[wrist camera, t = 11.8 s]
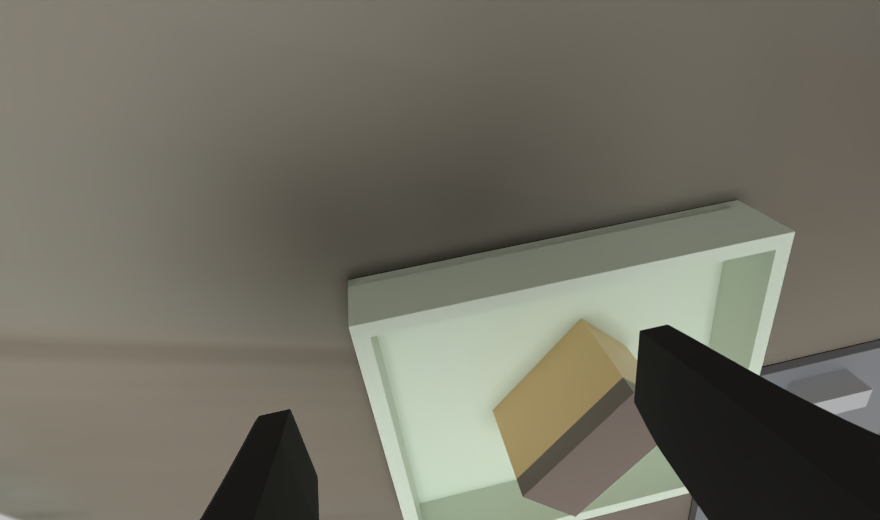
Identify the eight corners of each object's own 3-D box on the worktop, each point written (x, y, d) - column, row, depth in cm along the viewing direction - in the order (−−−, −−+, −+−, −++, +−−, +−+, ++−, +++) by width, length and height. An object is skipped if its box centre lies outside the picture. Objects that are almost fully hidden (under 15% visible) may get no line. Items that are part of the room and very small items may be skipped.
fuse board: (911, 332, 26) (951, 357, 25) (812, 564, 37) (835, 592, 36) (715, 378, 26) (742, 407, 24) (673, 601, 37) (689, 632, 35)
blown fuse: (625, 345, 23) (684, 421, 19) (538, 431, 24) (575, 516, 21) (581, 318, 21) (634, 392, 18) (492, 410, 23) (522, 496, 19)
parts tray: (737, 199, 20) (795, 231, 18) (696, 434, 27) (733, 481, 25) (347, 280, 19) (348, 326, 17) (408, 504, 26) (416, 561, 24)
